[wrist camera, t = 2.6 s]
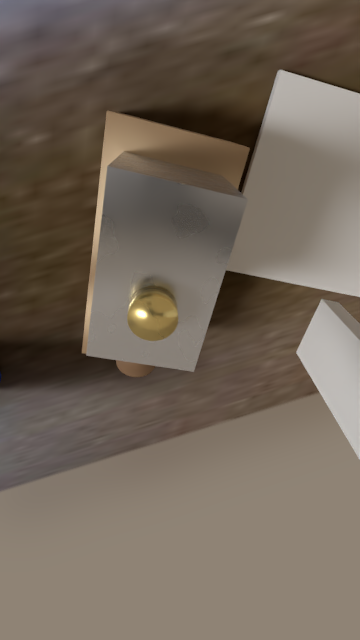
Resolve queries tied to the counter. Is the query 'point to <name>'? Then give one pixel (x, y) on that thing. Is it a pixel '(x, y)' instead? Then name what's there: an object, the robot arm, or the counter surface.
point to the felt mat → (304, 189)
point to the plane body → (166, 147)
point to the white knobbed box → (160, 260)
